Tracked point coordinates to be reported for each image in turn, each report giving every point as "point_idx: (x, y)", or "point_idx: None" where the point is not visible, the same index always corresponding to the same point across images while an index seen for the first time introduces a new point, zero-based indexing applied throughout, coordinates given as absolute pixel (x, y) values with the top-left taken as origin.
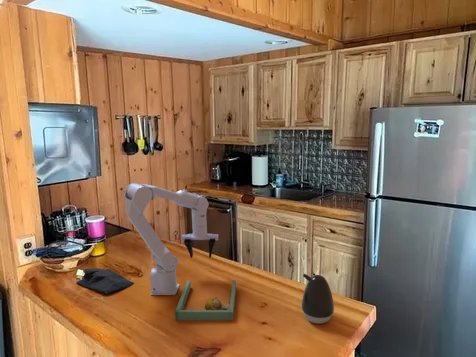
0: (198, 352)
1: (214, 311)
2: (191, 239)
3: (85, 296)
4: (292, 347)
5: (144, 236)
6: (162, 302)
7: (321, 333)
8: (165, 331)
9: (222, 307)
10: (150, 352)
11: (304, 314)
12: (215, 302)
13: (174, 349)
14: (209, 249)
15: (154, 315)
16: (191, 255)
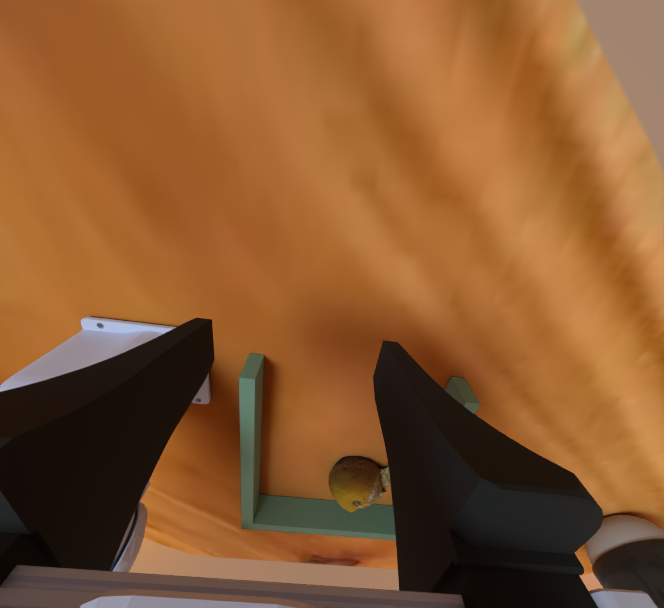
0: (316, 563)
1: (356, 536)
2: (44, 596)
3: None
4: None
5: None
6: (178, 430)
7: (578, 553)
8: (234, 523)
9: (383, 480)
10: (222, 557)
11: (589, 550)
12: (364, 507)
13: (268, 556)
14: (393, 472)
15: (180, 478)
16: (200, 381)
